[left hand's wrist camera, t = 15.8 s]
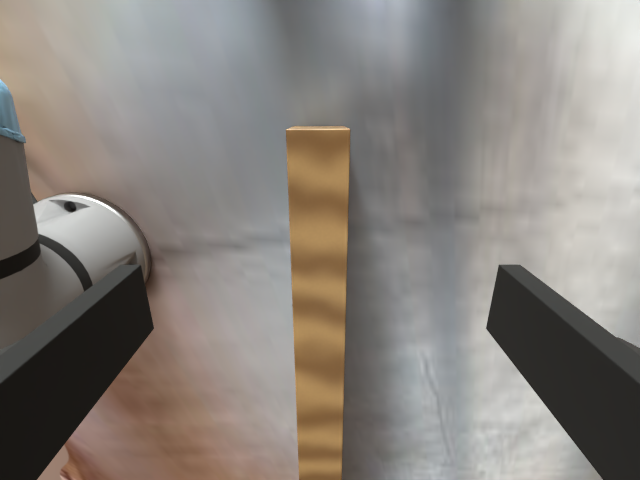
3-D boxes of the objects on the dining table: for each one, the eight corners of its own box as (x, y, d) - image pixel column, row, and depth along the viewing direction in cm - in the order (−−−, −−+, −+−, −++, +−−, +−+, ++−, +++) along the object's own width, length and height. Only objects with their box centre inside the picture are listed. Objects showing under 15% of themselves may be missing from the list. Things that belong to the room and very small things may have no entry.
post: (293, 126, 37) (285, 129, 29) (343, 126, 37) (350, 129, 29) (306, 549, 63) (304, 611, 55) (336, 549, 63) (338, 611, 55)
